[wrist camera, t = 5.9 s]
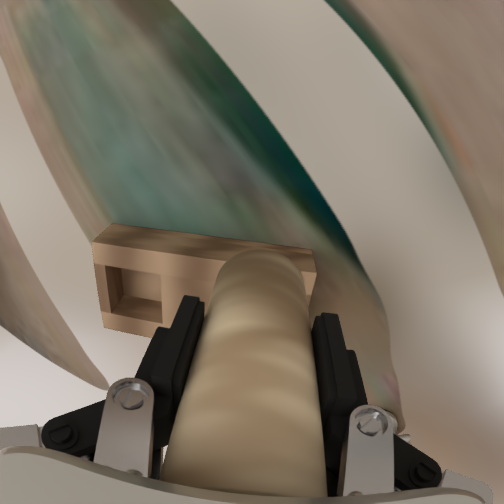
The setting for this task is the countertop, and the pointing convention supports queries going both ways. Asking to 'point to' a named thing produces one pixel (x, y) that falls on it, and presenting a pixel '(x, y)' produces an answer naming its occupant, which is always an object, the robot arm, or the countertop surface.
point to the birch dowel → (252, 388)
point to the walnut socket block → (167, 273)
